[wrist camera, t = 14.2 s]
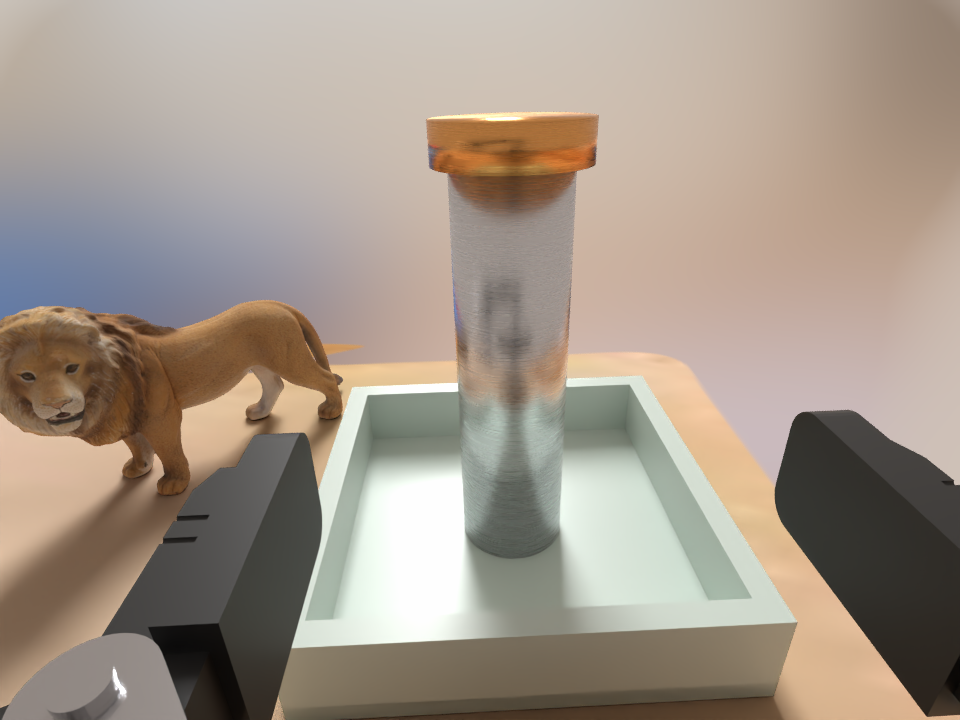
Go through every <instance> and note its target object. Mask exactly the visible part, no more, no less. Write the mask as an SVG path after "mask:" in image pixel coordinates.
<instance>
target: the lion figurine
mask: <svg viewBox="0 0 960 720" xmlns="http://www.w3.org/2000/svg"><path fill="white" fill-rule="evenodd" d="M305 341H306V342H307V344H308V346H309V348H310V350H311V352H312V353H313V356H314V357H315V360H316V361H315V360H314V359H313V357H312V355H311V353H310V351H309V349H308V347H307V345H306V342H305ZM250 370H252V372H253V373H254V374H255V375H256V377H257V378H258V379H259V381H260V382H261V384H262V389H263V393H262V397H261V399H260V401H259V402H258V403H256V404H252V405H250V406H249V407H248V408H247V409H246V416H247V417H248V418H249V419H251V420H256V419H260V418H263V417H266V416H268V415H269V414H270V412H271V411H272V408H273V406H274V404H275V403H276V401H277V399H278V397H279V395H280V393H281V391H282V390H283V388H284V384H283V381H282V379H281V378H283V379H285V380H287V381H288V382H290V383H292V384H295V385H298V386H302V387H306V388H310V389H313V390H317V391H320V392H322V393H323V394H325V396H326V401H325V402H323V403H322V404H320V405H319V407H318V415H319V416H320V417H322V418H324V419H333V418H336V417H338V416H339V415H340V414H341V412H342V399H341V395H340V392H339V389H338V385H340V383H341V382H343V379H342V377H340V376H339V375H337V374H332V372H331V370H330V367H329V363H328V359H327V356H326V354H325V351H324V348H323V346H322V343H321V341H320V339H319V336H318V334H317V333H316V331H315V329H314V327H313V326H312V325H311V323H310V322H309V321H308V319H307V318H306V317H305V316H304V315H303V314H302V313H301V312H300V311H298V310H297V309H295V308H294V307H292V306H290V305H287V304H284V303H282V302H278V301H272V300H259V301H252V302H246V303H241V304H239V305H237V306H235V307H232V308H230V309H228V310H227V311H225V312H223V313H221V314H219V315H217V316H214V317H212V318H210V319H207V320H204V321H202V322H199V323H196V324H193V325H190V326H186V327H183V328H179V329H174V328H171V327H162V326H157V325H153V324H151V323H149V322H147V321H145V320H143V319H140V318H137V317H135V316H133V315H128V314H116V315H114V314H112V315H111V314H106V313H100V314H95V313H91V312H89V311H87V310H86V309H84V308H81V307H77V308H71V307H64V306H49V307H42V306H39V307H36V308H34V309H30V310H23V311H20V312H19V313H18V314H16V315H11V316H7V317H4V318H3V319H2V320H1V321H0V413H1V414H3V415H4V416H5V417H6V419H7V420H8V421H10V422H11V423H12V424H14V425H16V426H18V427H19V428H20V429H21V430H22V431H23V432H31V433H34V434H36V435H40V436H72V437H78V438H81V439H82V440H84V441H86V442H87V443H89V444H91V445H93V446H101V445H105V444H112V443H115V442H117V441H120V440H122V439H123V441H124V442H125V443H126V444H127V446H128V447H129V449H130V450H131V452H132V455H133V458H131V459H129V460H128V462H127V463H125V465H124V467H123V470H122V473H123V475H124V476H126V477H128V478H136V477H139V476H141V475H143V474H145V473H147V472H148V471H149V470H150V469H151V468H152V466H153V461H154V454H155V453H156V454H157V455H158V457H159V458H160V460H161V461H162V464H163V468H164V473H165V474H164V476H163V477H162V478H160V479H159V480H158V483H157V487H158V492H159V494H162V495H172V494H180V493H181V492H182V491H183V490H184V489H185V488H186V487H187V485H188V483H189V480H190V471H189V468H188V466H189V464H188V461H187V459H186V457H185V455H184V453H183V449H182V444H181V429H180V427H181V421H182V410H183V409H186V408H190V407H193V406H197V405H200V404H203V403H206V402H209V401H212V400H214V399H216V398H218V397H220V396H222V395H224V394H225V393H227V392H228V391H230V390H231V389H232V388H233V387H235V386H236V385H237V384H238V383H239V382H240V381H241V380H242V379H243V378H244V376H245V375H246V374H247V373H248V372H249V371H250ZM280 377H281V378H280Z"/></svg>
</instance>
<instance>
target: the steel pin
mask: <svg viewBox="0 0 960 720" xmlns="http://www.w3.org/2000/svg"><path fill="white" fill-rule="evenodd" d="M598 118H599V116H598V115H597V114H590V113H570V112H517V113H516V112H515V113H486V114H466V115H451V116H442V117H433V118H429V119H426V121H427V139H428V155H429V167H430V169H432V170H435V171H438V172H443V173H448V192H449V212H450V213H449V214H450V235H451V253H452V254H451V255H452V273H453V274H452V275H453V276H452V277H453V296H454V318H455V337H456V338H455V339H456V360H457V381H458V402H459V422H460V443H461V464H462V485H463V506H464V526H465V531H466V534H467V536H468V538H469V539H470V541H471V542H472V543H473V544H474V545H475V546H476V547H477V548H479V549H480V550H482V551H484V552H486V553H488V554H490V555H493V556H496V557H501V558H509V559H517V558H525V557H530V556H533V555H536V554H538V553H540V552H542V551H544V550H545V549H547V548H548V547H549V546H550V545H551V544H552V543H553V542H554V541H555V539H556V538H557V536H558V533H559V526H560V505H561V485H562V464H563V443H564V422H565V402H566V381H567V360H568V340H569V318H570V298H571V297H570V296H571V277H572V257H573V256H572V255H573V235H574V215H575V193H576V192H575V191H576V174H577V171H578V170H583V169H587V168H590V167H592V166H594V165H595V164H596V150H597V134H598Z"/></svg>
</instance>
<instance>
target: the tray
mask: <svg viewBox="0 0 960 720" xmlns="http://www.w3.org/2000/svg"><path fill="white" fill-rule="evenodd" d="M318 492H319V498H320V503H321V509H322V536H321V543H320V547H319V551H318V555H317V558H316V562H315V566H314V569H313V573H312V576H311V580H310V583H309V587H308V591H307V594H306V598H305V601H304V605H303V608H302V612H301V616H300V619H299V623H298V626H297V630H296V633H295V637H294V641H293V644H292V648H291V651H290V655H289V659H288V662H287V666H286V669H285V673H284V676H283V680H282V684H281V687H280V691H279V694H278V695H279V699H280V702H281V706H282V709H283V713H284V716H285V720H341V719H359V718H378V717H396V716H415V715H433V714H451V713H470V712H488V711H507V710H525V709H543V708H562V707H580V706H599V705H617V704H636V703H654V702H672V701H691V700H709V699H728V698H746V697H764V696H774V693H775V690H776V687H777V684H778V681H779V678H780V675H781V672H782V668H783V665H784V662H785V659H786V656H787V653H788V650H789V647H790V644H791V641H792V638H793V635H794V632H795V629H796V625H797V621H796V619H795V618H794V616H793V614H792V613H791V611H790V610H789V608H788V606H787V605H786V603H785V602H784V600H783V599H782V597H781V595H780V594H779V592H778V591H777V589H776V587H775V586H774V584H773V583H772V581H771V580H770V578H769V576H768V575H767V573H766V572H765V570H764V568H763V567H762V565H761V564H760V562H759V561H758V559H757V557H756V556H755V554H754V553H753V551H752V549H751V548H750V546H749V545H748V543H747V542H746V540H745V538H744V537H743V535H742V534H741V532H740V530H739V529H738V527H737V526H736V524H735V523H734V521H733V519H732V518H731V516H730V515H729V513H728V511H727V510H726V508H725V507H724V505H723V504H722V502H721V500H720V499H719V497H718V496H717V494H716V492H715V491H714V489H713V488H712V486H711V485H710V483H709V481H708V480H707V478H706V477H705V475H704V473H703V472H702V470H701V469H700V467H699V466H698V464H697V462H696V461H695V459H694V458H693V456H692V454H691V453H690V451H689V450H688V448H687V447H686V445H685V443H684V442H683V440H682V439H681V437H680V435H679V434H678V432H677V431H676V429H675V428H674V426H673V424H672V423H671V421H670V420H669V418H668V416H667V415H666V413H665V412H664V410H663V409H662V407H661V405H660V404H659V402H658V401H657V399H656V397H655V396H654V394H653V393H652V391H651V390H650V388H649V386H648V385H647V383H646V382H645V380H644V378H643V377H642V376H621V377H596V378H571V379H567V381H566V402H565V422H564V443H563V464H562V485H561V505H560V526H559V533H558V536H557V538H556V539H555V541H554V542H553V543H552V544H551V545H550V546H549V547H548V548H547V549H545V550H544V551H542V552H540V553H538V554H536V555H533V556H530V557H525V558H517V559H509V558H501V557H496V556H493V555H490V554H488V553H486V552H484V551H482V550H480V549H479V548H477V547H476V546H475V545H474V544H473V543H472V542H471V541H470V539H469V538H468V536H467V534H466V531H465V526H464V506H463V485H462V464H461V443H460V422H459V402H458V383H445V384H420V385H395V386H370V387H353V388H352V391H351V394H350V397H349V400H348V403H347V406H346V409H345V412H344V415H343V418H342V421H341V424H340V427H339V430H338V433H337V436H336V439H335V442H334V445H333V448H332V451H331V454H330V457H329V460H328V463H327V466H326V469H325V472H324V475H323V478H322V481H321V484H320V487H319V490H318Z"/></svg>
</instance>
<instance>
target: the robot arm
mask: <svg viewBox="0 0 960 720" xmlns="http://www.w3.org/2000/svg"><path fill="white" fill-rule="evenodd" d="M775 504H776V509H777V512H778V515H779V518H780V520H781V522H782V524H783V525H784V527H785V528H786V529H787V531H788V532H789V533H790V535H791V536H792V537H793V539H794V540H795V541H796V543H797V544H798V545H799V547H800V548H801V549H802V551H803V552H804V553H805V555H806V556H807V557H808V559H809V560H810V561H811V563H812V564H813V565H814V567H815V568H816V569H817V571H818V572H819V573H820V575H821V576H822V577H823V579H824V580H825V581H826V583H827V584H828V585H829V587H830V588H831V589H832V591H833V592H834V594H835V595H836V596H837V598H838V599H839V600H840V602H841V603H842V604H843V606H844V607H845V608H846V610H847V611H848V612H849V614H850V615H851V616H852V618H853V619H854V620H855V622H856V623H857V624H858V626H859V627H860V628H861V630H862V631H863V632H864V634H865V635H866V636H867V638H868V639H869V640H870V642H871V643H872V644H873V646H874V647H875V648H876V650H877V651H878V652H879V654H880V655H881V656H882V658H883V659H884V660H885V662H886V663H887V664H888V666H889V667H890V668H891V670H892V671H893V672H894V674H895V675H896V676H897V678H898V679H899V680H900V682H901V683H902V684H903V686H904V687H905V688H906V690H907V691H908V692H909V694H910V695H911V696H912V698H913V699H914V700H915V702H916V703H917V704H918V706H919V707H920V708H921V710H922V711H923V712H924V714H925V715H926V716H927V717H931V716H947V715H960V485H954V480H953V479H951V478H950V477H949V476H948V475H946V474H945V473H944V472H943V471H941V470H940V469H939V468H937V467H936V466H935V465H934V464H932V463H931V462H930V461H929V460H928V459H926V458H925V457H923V456H921V455H919V454H917V453H915V452H913V451H911V450H909V449H907V448H905V447H903V446H901V445H899V444H897V443H895V442H893V441H891V440H890V439H889V438H887V437H886V436H885V435H884V434H882V433H881V432H880V431H879V430H878V429H876V428H875V427H874V426H873V425H872V424H870V423H869V422H868V421H867V420H865V419H864V418H863V417H862V416H861V415H859V414H858V413H856V412H854V411H850V410H839V411H838V410H837V411H815V412H802V413H800V414H798V415H797V416H796V417H795V419H794V421H793V423H792V426H791V429H790V433H789V437H788V440H787V444H786V449H785V452H784V456H783V460H782V463H781V467H780V471H779V475H778V478H777V482H776V487H775ZM321 536H322V509H321V503H320V498H319V492H318V487H317V482H316V476H315V471H314V466H313V460H312V455H311V450H310V445H309V441H308V438H307V436H306V434H305V433H283V434H260V435H255V436H254V437H253V438H252V440H251V441H250V443H249V445H248V447H247V448H246V450H245V452H244V454H243V456H242V457H241V459H240V461H239V463H238V465H237V466H236V467H229V468H220V469H218V470H217V471H216V472H215V473H214V474H212V475H211V476H210V477H209V478H207V479H206V480H205V481H204V482H203V483H201V484H200V485H199V486H198V487H197V488H195V489H194V490H193V491H192V493H191V495H190V496H189V498H188V499H187V501H186V503H185V504H184V506H183V507H182V509H181V511H180V512H179V514H178V515H177V521H174V522H173V523H172V525H171V526H170V528H169V530H168V531H167V533H166V534H165V536H164V538H163V544H159V546H158V547H157V549H156V550H155V552H154V554H153V555H152V557H151V558H150V560H149V562H148V563H147V565H146V566H145V568H144V570H143V571H142V573H141V574H140V576H139V578H138V579H137V581H136V582H135V584H134V586H133V587H132V589H131V590H130V592H129V594H128V595H127V597H126V598H125V600H124V601H123V603H122V605H121V606H120V608H119V609H118V611H117V613H116V614H115V616H114V617H113V619H112V621H111V622H110V624H109V625H108V627H107V629H106V630H105V632H104V633H103V635H102V636H101V637H98V638H95V639H92V640H89V641H87V642H85V643H82V644H80V645H78V646H76V647H74V648H72V649H70V650H68V651H67V652H65V653H63V654H61V655H60V656H58V657H57V658H55V659H54V660H52V661H51V662H49V663H48V664H47V665H46V666H44V667H43V668H42V669H41V670H40V671H38V672H37V673H36V674H35V675H34V676H33V677H32V678H31V679H30V680H29V681H28V682H27V683H26V684H25V685H24V686H23V687H22V688H21V690H20V691H19V692H18V693H17V694H16V696H15V697H14V699H13V700H12V702H11V703H10V705H7V706H5V707H2V708H0V720H271V719H272V716H273V712H274V709H275V705H276V701H277V698H278V694H279V691H280V687H281V684H282V680H283V676H284V673H285V669H286V666H287V662H288V659H289V655H290V651H291V648H292V644H293V641H294V637H295V633H296V630H297V626H298V623H299V619H300V616H301V612H302V608H303V605H304V601H305V598H306V594H307V591H308V587H309V583H310V580H311V576H312V573H313V569H314V566H315V562H316V558H317V555H318V551H319V547H320V543H321Z"/></svg>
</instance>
